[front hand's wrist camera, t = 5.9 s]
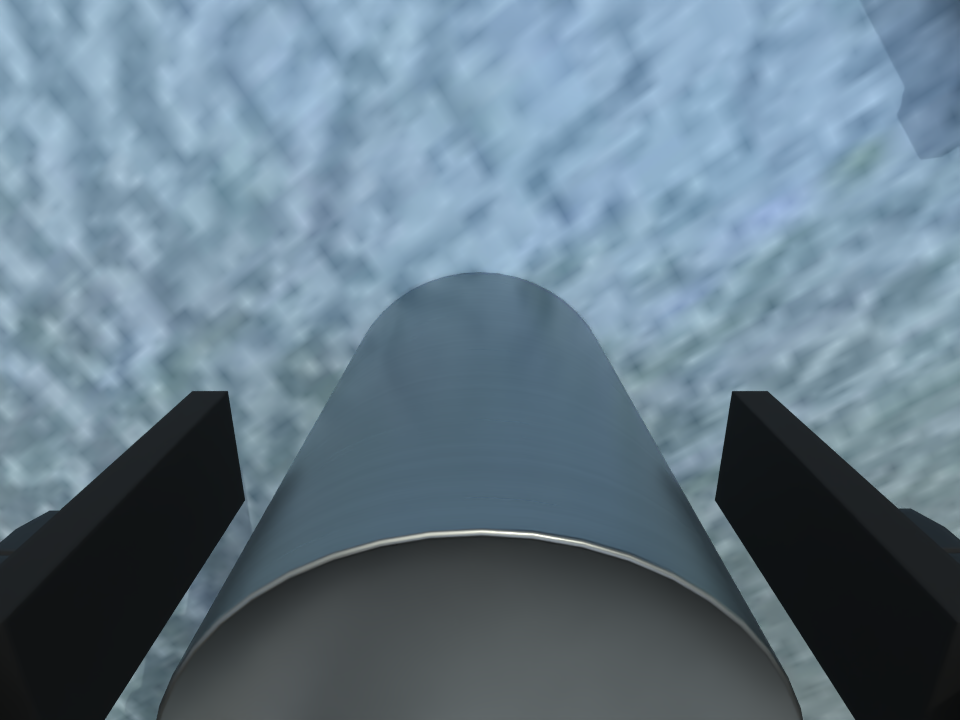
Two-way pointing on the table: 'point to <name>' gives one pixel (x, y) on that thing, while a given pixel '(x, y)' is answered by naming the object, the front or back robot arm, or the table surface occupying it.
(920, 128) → the table surface
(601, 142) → the table surface
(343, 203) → the table surface
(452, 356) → the tin
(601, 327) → the table surface
